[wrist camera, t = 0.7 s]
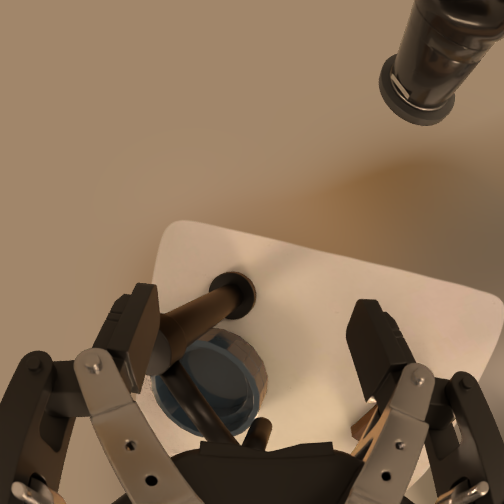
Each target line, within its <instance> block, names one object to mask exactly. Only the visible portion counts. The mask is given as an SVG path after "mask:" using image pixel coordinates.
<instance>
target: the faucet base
mask: <svg viewBox="0 0 504 504" xmlns="http://www.w3.org/2000/svg"><path fill="white" fill-rule="evenodd" d="M255 302H256V290H255V287H254V285H253V283H252V281H251V280H250V279H249V278H248V277H247V276H245V275H244V274H242V273H239V272H226V273H223V274H221V275H219V276H218V277H216V278H215V279H214V280H213V282H212V283H211V285H210V288H209V293H207V294H205V295H203V296H201V297H199V298H197V299H195V300H193V301H191V302H189V303H186V304H184V305H182V306H180V307H178V308H176V309H174V310H172V311H170V312H168V313H165V315H168V316H170V317H171V318H173V319H174V320H175V321H176V322H177V323H178V324H179V325H180V326H181V328H182V330H183V332H184V334H185V337H186V348H187V347H188V346H190V345H191V344H192V343H194V342H195V341H196V340H197V339H199V338H200V337H201V336H202V335H204V334H205V333H206V332H208V331H209V330H210V329H211V328H213V327H214V326H215V325H216V324H218V323H219V322H220V321H221V320H223V319H224V318H227V319H239V318H242V317H244V316H245V315H247V314H248V313H249V312H250V311H251V310H252V308H253V307H254V305H255Z"/></svg>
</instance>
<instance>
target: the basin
mask: <svg viewBox="0 0 504 504" xmlns="http://www.w3.org/2000/svg"><path fill="white" fill-rule="evenodd" d="M179 361H180V363H181V364H182V366H183V367H184V369H185V370H186V372H187V373H188V375H189V376H190V378H191V379H192V381H193V382H194V384H195V385H196V386H197V388H198V389H199V391H200V392H201V394H202V395H203V396H204V398H205V399H206V401H207V402H208V403H209V405H210V406H211V408H212V409H213V410H214V412H215V413H216V414H217V416H218V417H219V418H220V420H221V421H222V422H223V424H224V425H225V426H226V428H227V429H228V430H229V432H230V433H231V434H232V435H233V436H236V435H238V434H241V433H243V432H244V431H245V430H246V429H247V428H248V427H250V426H251V423H252V422H253V421H254V420H255V418H256V416H257V414H258V412H259V410H260V407H261V405H262V402H263V400H264V398H265V395H266V393H267V381H268V376H267V373H266V370H265V366H264V363H263V361H262V359H261V358H260V357H259V355H258V354H257V352H256V351H255V349H254V348H253V347H252V346H251V345H250V344H248V343H247V342H246V341H245V340H243V339H242V338H241V337H240V336H238V335H235V334H233V333H231V332H228V331H226V330H224V329H218V328H211V329H210V330H209V331H208V332H206V333H205V334H204V335H202V336H201V337H200V338H199V339H197V340H196V341H195V342H194V343H192V344H191V345H190V346H188V347H187V348H186V351H185V354H184V356H183V357H182V358H181V360H179ZM150 378H151V387H152V392H153V394H154V396H155V399H156V401H157V403H158V405H159V406H160V408H161V409H162V410H163V412H164V413H165V414H166V416H167V417H168V418H169V419H171V420H172V421H173V422H174V423H175V424H177V425H178V426H179V427H180V428H182V429H184V430H186V431H188V432H190V433H192V434H194V435H196V436H200V437H204V436H203V435H202V434H201V432H200V431H199V430H198V429H197V427H196V426H195V425H194V423H193V422H192V421H191V419H190V418H189V417H188V415H187V414H186V413H185V411H184V410H183V409H182V407H181V406H180V404H179V403H178V402H177V400H176V399H175V397H174V396H173V395H172V393H171V392H170V390H169V389H168V387H167V386H166V384H165V383H164V381H163V380H162V378H161V377H160V375H158V376H150Z"/></svg>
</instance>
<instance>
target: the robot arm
mask: <svg viewBox="0 0 504 504" xmlns="http://www.w3.org/2000/svg"><path fill="white" fill-rule="evenodd" d="M502 38H504V0H414V3H413V7H412V10H411V14H410V17H409V20H408V23H407V26H406V29H405V32H404V35H403V38H402V41H401V44H400V47H399V50H398V53H397V56H396V58H395V61H394V64H393V65H392V68H391V71H390V83H391V86H392V88H393V90H394V92H395V93H396V95H397V96H398V97H399V98H400V99H401V100H402V101H403V102H404V103H405V104H407V105H408V106H410V107H412V108H414V109H416V110H419V111H423V112H434V111H437V110H439V109H441V108H442V107H443V106H444V105H445V104H446V102H447V101H448V99H449V98H450V97H451V96H452V95H453V94H454V92H455V91H456V90H457V89H458V88H459V86H460V85H461V84H462V83H463V81H464V80H465V79H466V78H467V77H468V75H469V74H470V73H471V72H472V71H473V69H474V68H475V67H476V66H477V64H478V63H479V62H480V61H481V59H482V58H483V57H484V55H485V54H486V53H487V52H488V50H489V49H490V48H491V47H492V46H493V44H494V43H495V42H496V41H499V40H501V39H502ZM159 326H160V310H159V300H158V291H157V286H156V285H155V284H146V283H137V284H136V286H135V288H134V290H133V292H132V294H131V295H129V294H124V295H122V296H121V297H120V298H119V299H117V300H116V301H115V303H114V305H113V306H112V308H111V311H110V313H109V314H108V316H107V318H106V320H105V322H104V324H103V326H102V328H101V330H100V332H99V334H98V336H97V338H96V340H95V342H94V344H93V347H92V348H90V349H87V350H84V351H82V352H81V353H80V354H79V355H78V356H77V357H76V359H75V360H71V361H54V362H53V361H52V359H51V357H50V356H49V355H48V354H47V353H46V352H43V351H33V352H30V353H28V354H26V355H25V356H24V357H23V358H22V359H21V361H20V363H19V365H18V367H17V369H16V371H15V373H14V375H13V377H12V379H11V381H10V383H9V385H8V388H7V390H6V392H5V394H4V397H3V398H2V401H1V403H0V504H66V502H65V500H64V499H63V497H62V496H61V495H60V494H58V489H59V483H60V479H61V474H62V470H63V465H64V461H65V457H66V452H67V449H68V445H69V441H70V437H71V434H72V430H73V426H74V422H75V419H76V417H88V416H91V417H90V419H91V422H92V425H93V427H94V430H95V432H96V434H97V436H98V439H99V441H100V443H101V445H102V447H103V450H104V452H105V454H106V456H107V458H108V460H109V462H110V464H111V466H112V468H113V470H114V472H115V474H116V476H117V477H118V479H119V481H120V483H121V485H122V487H123V488H124V490H125V492H126V493H125V494H124V495H122V496H121V497H120V498H118V499H117V500H116V501H114V502H113V503H112V504H414V503H413V502H412V501H410V500H409V499H408V498H406V497H405V496H404V494H405V492H406V489H407V487H408V485H409V482H410V480H411V477H412V475H413V472H414V470H415V467H416V464H417V462H418V459H419V456H420V453H421V450H422V448H423V445H424V444H425V448H426V452H427V455H428V459H429V463H430V467H431V471H432V475H433V479H434V483H435V488H436V493H437V497H438V499H437V500H436V502H435V504H504V443H503V440H502V438H501V435H500V432H499V430H498V427H497V425H496V422H495V420H494V418H493V415H492V413H491V411H490V408H489V406H488V404H487V401H486V399H485V397H484V395H483V393H482V391H481V388H480V386H479V384H478V382H477V381H476V379H475V378H474V377H473V376H472V375H471V374H469V373H467V372H463V371H459V372H456V373H455V374H454V375H453V377H452V378H451V379H450V380H447V379H441V378H436V377H434V375H433V373H432V372H431V370H430V369H429V368H427V367H426V366H424V365H422V364H419V363H416V361H415V359H414V357H413V355H412V353H411V351H410V349H409V347H408V345H407V343H406V341H405V339H404V338H403V335H402V333H401V331H399V327H398V325H397V323H396V321H395V320H394V319H393V318H392V317H391V316H390V315H389V314H388V313H387V312H383V311H382V309H381V307H380V305H379V303H378V301H377V300H370V299H359V300H358V301H357V302H356V305H355V307H354V310H353V313H352V315H351V318H350V321H349V323H348V326H347V330H346V340H347V344H348V347H349V350H350V353H351V356H352V359H353V362H354V365H355V368H356V371H357V375H358V378H359V381H360V384H361V388H362V391H363V394H364V398H365V401H366V403H372V402H377V406H378V407H377V408H376V410H375V411H374V413H373V415H372V417H371V419H370V421H369V423H368V425H367V427H366V429H365V431H364V433H363V435H362V437H361V439H360V441H359V442H358V444H357V446H356V447H355V449H354V450H353V451H352V453H351V454H348V453H345V452H342V451H338V450H333V444H332V442H321V443H306V444H299V445H295V446H291V447H287V448H283V449H279V450H275V451H270V452H267V451H262V450H257V449H253V448H249V447H245V446H241V445H238V444H234V443H218V442H206V441H200V449H193V450H189V451H185V452H182V453H179V454H177V455H175V456H173V457H171V458H170V457H169V456H168V454H167V452H166V451H165V449H164V448H163V446H162V445H161V443H160V442H159V440H158V438H157V437H156V435H155V434H154V432H153V430H152V429H151V427H150V425H149V424H148V422H147V420H146V418H145V417H144V415H143V413H142V411H141V410H140V408H139V406H138V404H137V403H136V401H134V400H133V398H132V397H131V395H130V394H131V392H132V393H138V394H140V392H141V388H142V385H143V381H144V377H145V374H146V370H147V367H148V363H149V360H150V357H151V353H152V350H153V347H154V343H155V340H156V337H157V334H158V330H159ZM455 419H456V421H457V424H458V426H459V429H460V432H461V435H462V441H461V444H460V445H459V442H458V439H457V436H456V433H455V430H454V427H453V424H452V422H453V421H454V420H455Z"/></svg>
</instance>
